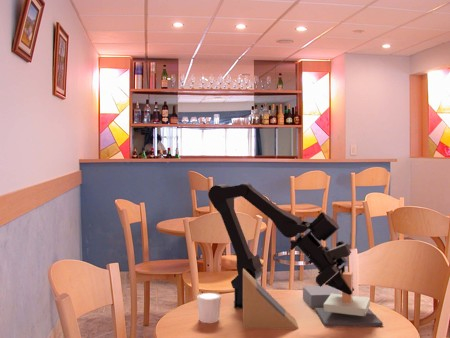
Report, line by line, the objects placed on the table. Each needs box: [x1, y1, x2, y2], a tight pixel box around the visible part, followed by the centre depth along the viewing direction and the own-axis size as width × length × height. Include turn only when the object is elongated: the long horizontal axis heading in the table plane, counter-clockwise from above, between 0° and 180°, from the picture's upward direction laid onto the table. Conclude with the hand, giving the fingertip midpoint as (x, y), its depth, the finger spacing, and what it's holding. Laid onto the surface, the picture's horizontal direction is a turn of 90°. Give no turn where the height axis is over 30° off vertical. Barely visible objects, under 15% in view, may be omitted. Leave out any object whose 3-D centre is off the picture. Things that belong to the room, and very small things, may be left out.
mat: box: [314, 308, 384, 328], centre depth 141 cm, size 16×13×1 cm
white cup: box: [196, 292, 222, 324], centre depth 140 cm, size 7×7×7 cm
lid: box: [324, 271, 371, 316], centre depth 141 cm, size 11×11×10 cm
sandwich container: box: [242, 268, 300, 330], centre depth 137 cm, size 9×15×15 cm, turn 89°
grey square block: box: [302, 285, 342, 309], centre depth 156 cm, size 10×10×4 cm
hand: (352, 292), depth 140 cm, fingers closed on lid, 3 cm apart
